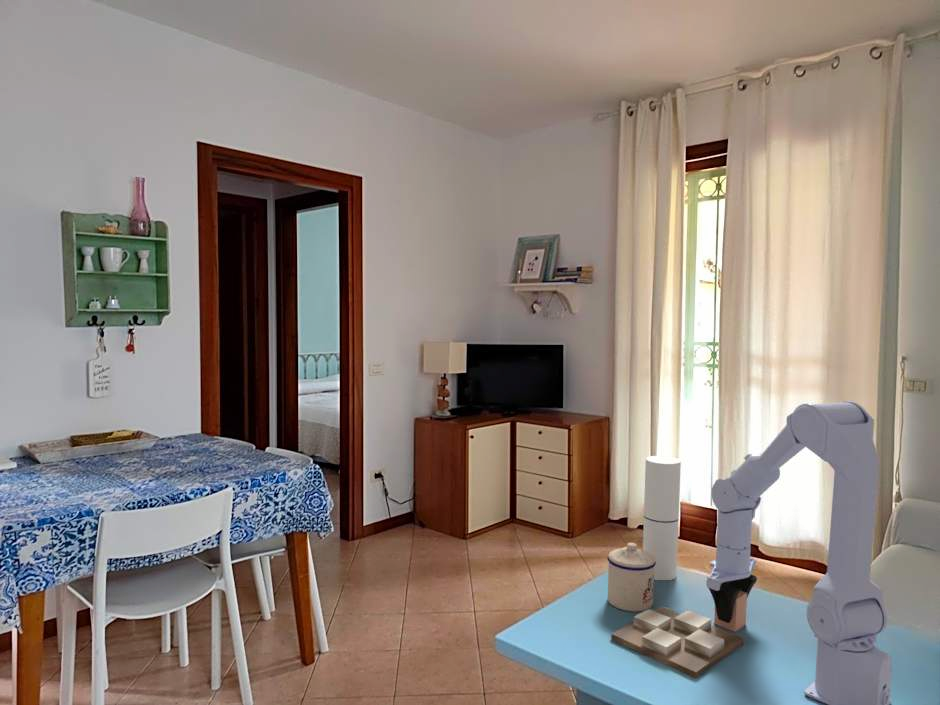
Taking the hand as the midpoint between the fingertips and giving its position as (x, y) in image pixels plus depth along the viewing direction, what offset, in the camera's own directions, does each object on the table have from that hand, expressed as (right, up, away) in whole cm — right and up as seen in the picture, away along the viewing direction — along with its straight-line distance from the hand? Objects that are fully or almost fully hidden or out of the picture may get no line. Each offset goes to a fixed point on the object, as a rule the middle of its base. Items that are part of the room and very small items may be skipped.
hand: (730, 616), depth 123 cm
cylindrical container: (-7, 0, +22) cm, 23 cm away
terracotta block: (0, -1, 0) cm, 1 cm away
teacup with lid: (-16, -1, +10) cm, 19 cm away
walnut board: (-12, -2, -6) cm, 13 cm away
